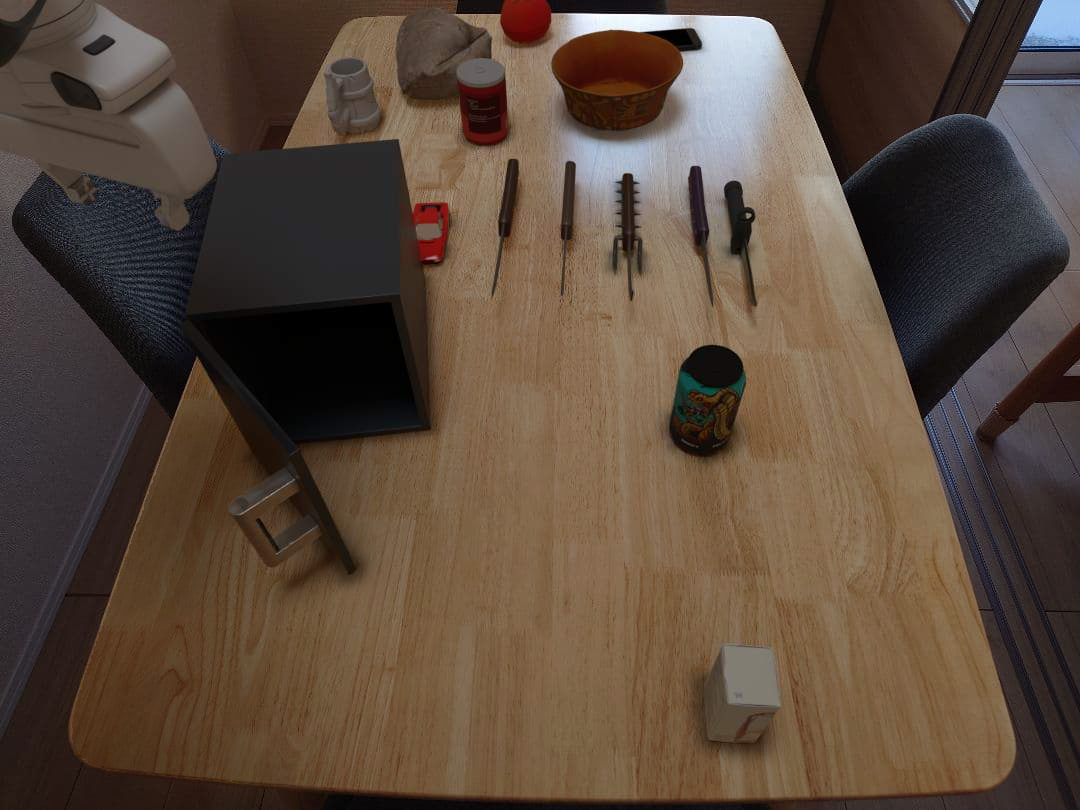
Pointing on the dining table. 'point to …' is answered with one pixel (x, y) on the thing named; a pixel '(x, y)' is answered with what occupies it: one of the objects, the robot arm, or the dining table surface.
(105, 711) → the dining table surface
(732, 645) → the white carton box
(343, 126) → the mug
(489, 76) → the canned food
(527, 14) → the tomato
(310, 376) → the cupboard
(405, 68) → the rock
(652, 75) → the bowl
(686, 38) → the smartphone
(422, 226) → the toy car
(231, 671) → the dining table surface
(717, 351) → the beverage can
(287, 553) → the cupboard door
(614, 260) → the knife set
